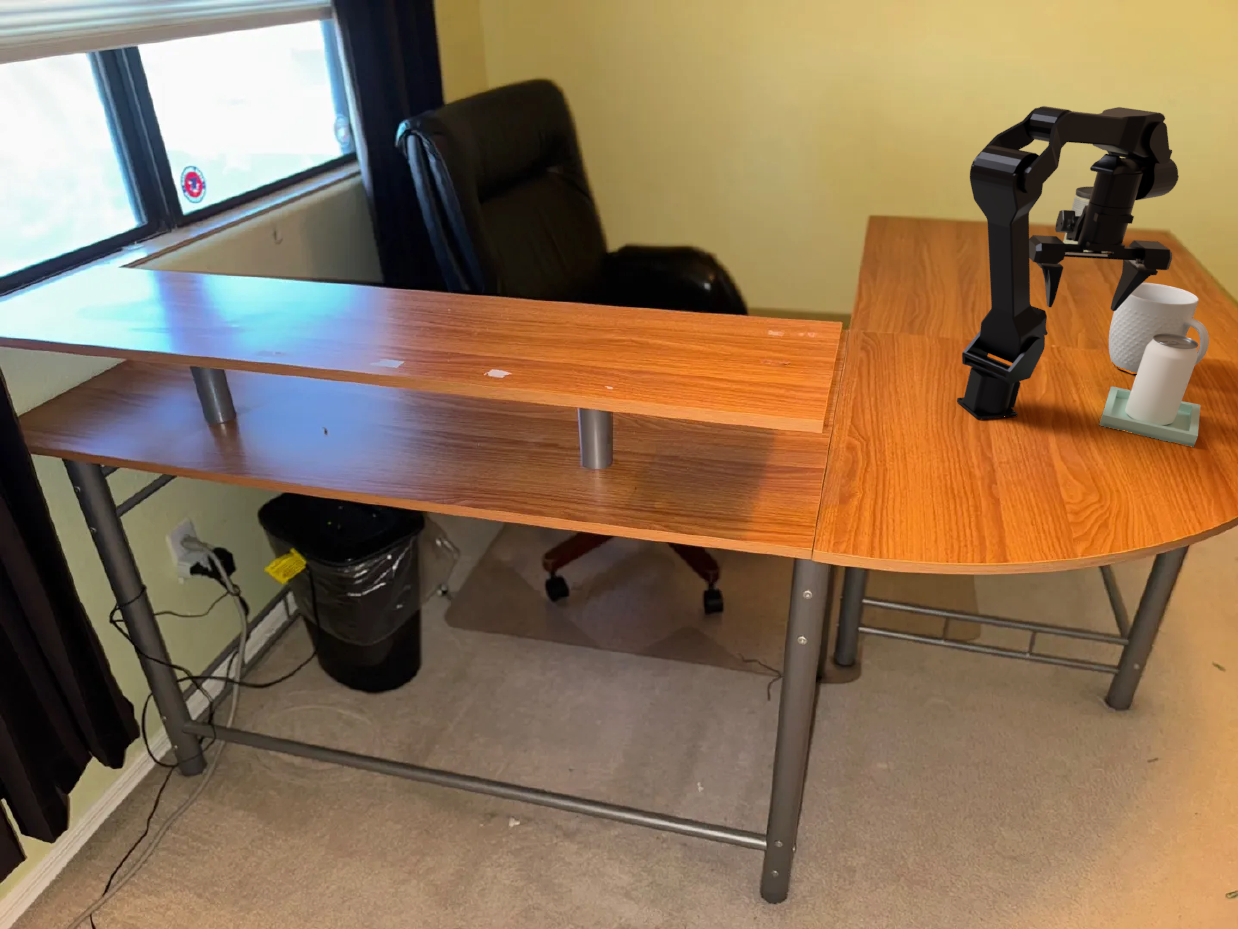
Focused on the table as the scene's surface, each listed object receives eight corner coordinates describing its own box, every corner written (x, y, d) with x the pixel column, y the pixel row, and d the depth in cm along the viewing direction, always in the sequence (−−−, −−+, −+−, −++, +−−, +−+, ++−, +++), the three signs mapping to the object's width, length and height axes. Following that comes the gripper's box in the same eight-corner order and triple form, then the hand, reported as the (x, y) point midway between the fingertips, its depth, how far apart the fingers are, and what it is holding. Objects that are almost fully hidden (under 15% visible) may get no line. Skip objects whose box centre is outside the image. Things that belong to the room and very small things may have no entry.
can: (1183, 426, 127) (1212, 348, 121) (1141, 427, 126) (1169, 349, 120) (1155, 407, 132) (1181, 331, 126) (1114, 408, 132) (1139, 332, 126)
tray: (1193, 447, 122) (1197, 436, 122) (1098, 425, 128) (1102, 414, 127) (1196, 415, 131) (1200, 404, 130) (1107, 396, 137) (1111, 386, 136)
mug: (1209, 381, 143) (1238, 304, 136) (1173, 396, 137) (1202, 316, 131) (1121, 351, 154) (1144, 278, 147) (1084, 363, 148) (1107, 288, 142)
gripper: (1157, 194, 132) (1126, 295, 139) (1027, 188, 134) (1003, 288, 141) (1189, 212, 122) (1153, 319, 130) (1049, 205, 124) (1022, 311, 132)
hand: (1080, 308), depth 133 cm, fingers open, 9 cm apart
